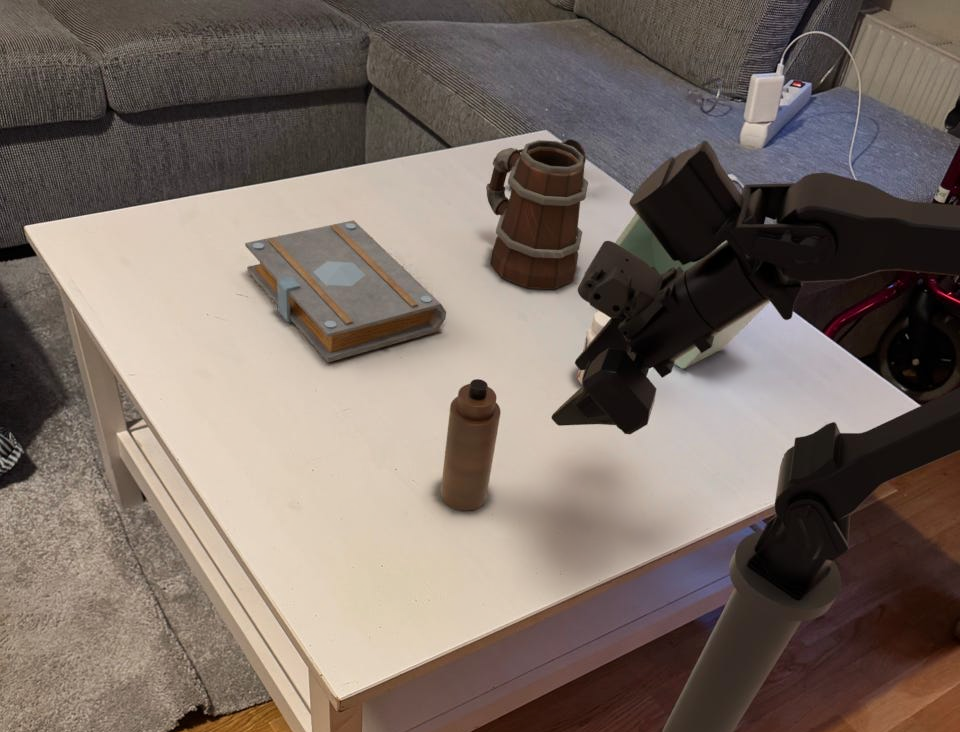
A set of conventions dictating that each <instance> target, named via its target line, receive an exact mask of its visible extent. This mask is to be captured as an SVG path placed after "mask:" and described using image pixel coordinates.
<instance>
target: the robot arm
mask: <svg viewBox="0 0 960 732" xmlns="http://www.w3.org/2000/svg"><path fill="white" fill-rule="evenodd" d="M629 206H630V207H631V208H632V209H633V210H634V212H635V214H636V213H637V214H638V216H639V217H640V218H641V220H642V221H643V222H644V223H645V225H646V226H647V227H648V229H649V230H650V231H651V233H652V234H653V235H654V237H655V238H656V239H657V240H658V242H659V243H660V244H661V246H662V247H663V248H664V250H665V251H666V252H667V253H668V255H669V256H670V257H671V259H672V260H673V261H678V260H679V261H680V262H681V264H682V265H685V264H687V263H689V262H696V261H699V260H700V261H699V262H697V263H696V264H695V265H693V266H692V267H690V268H689V269H687V270H686V271H683V269H682V268H681V267H680V266H679V267H678V268H676V269H675V268H674V267H672V268H670V269H669V270H668V271H666V272H665V273H663V274H661V275H660V274H659V272H658V271H657V270H656V269H655V268H654V267H650V266H649V265H648V264H647V263H646V262H644V261H643V260H641V259H640V258H638V257H636V256H635V255H633V254H632V253H630V252H628V251H627V250H625V249H624V248H622V247H620V246H619V245H617V244H616V243H615V242H614V241H611V240H604V241H603V242H602V244H601V246H600V247H599V248H598V251H597V252H596V254H595V256H594V257H593V259H592V260H591V263H590V264H589V266H588V267H587V269H586V270H585V272H584V274H583V277H582V279H581V281H580V283H579V286H578V287H577V293H578V295H579V297H580V298H581V299H582V300H583V301H585V302H587V303H588V304H589V305H590V306H591V307H592V308H594V310H597V311H600V312H602V313H603V314H605V315H607V316H608V317H610V318H611V319H610V320H609V321H608V322H607V324H606V325H605V326H604V327H603V328H602V330H601V331H600V332H599V333H598V334H597V336H596V337H595V338H594V339H593V340H592V341H591V343H590V344H589V345H588V346H587V347H586V348H585V350H584V351H583V350H582V352H581V353H580V354H579V355H578V357H576V359H575V361H574V365H575V366H576V367H577V368H578V370H579V369H580V370H585V373H584V375H583V378H582V384H581V387H580V388H578V390H577V391H576V392H575V393H574V394H573V395H571V396H570V397H569V398H568V399H567V400H566V401H565V402H564V403H562V405H560V406H559V407H558V408H557V409H556V410H555V411H554V412H553V414H551V420H552V422H554V423H555V425H556V426H559V427H562V426H584V425H585V426H586V425H589V426H590V425H603V426H604V425H605V426H616V427H617V428H618V429H619V430H620V431H621V432H622V433H623V434H624V435H632V434H634V433H635V432H638V431H639V430H641V429H642V428H644V427H645V426H648V423H649V421H650V417H651V414H652V412H653V407H654V405H655V402H656V393H657V387H656V386H655V385H654V384H653V383H652V381H651V380H650V379H649V378H648V373H649V370H650V369H651V368H653V370H655V371H656V373H657V374H658V375H659V376H660V377H661V378H665V377H666V376H668V375H670V374H671V373H672V372H673V369H674V365H675V364H674V362H675V360H676V359H678V358H680V357H681V356H683V355H684V354H686V353H688V352H689V351H691V350H692V349H694V348H695V347H697V348H698V349H699V351H700V352H701V353H703V352H705V351H706V350H708V349H709V348H711V347H712V344H713V340H714V336H715V335H716V334H718V333H719V332H721V331H722V330H724V329H726V328H727V327H729V326H730V325H732V324H734V323H735V322H737V321H738V320H740V319H741V318H743V317H745V316H746V315H748V314H749V313H751V312H753V311H754V310H756V309H757V308H759V307H761V306H762V305H764V304H765V303H767V302H768V301H770V302H769V303H771V304H772V306H773V307H774V309H775V310H776V311H777V312H778V315H780V317H781V318H782V319H783V320H785V321H790V320H791V319H792V318H793V314H794V308H795V303H796V301H797V298H798V296H799V294H800V293H801V291H802V290H803V285H804V283H824V282H842V281H852V280H855V279H858V278H861V277H866V276H869V275H871V274H875V273H878V272H891V271H902V272H913V273H923V274H933V275H943V276H953V277H960V205H957V204H945V203H935V202H933V203H932V202H921V201H920V202H919V201H912V200H908V199H904V198H900V197H897V196H894V195H892V194H890V193H888V192H887V191H885V190H882V189H881V188H879V187H877V186H875V185H873V184H871V183H869V182H866V181H860V180H857V179H853V178H850V177H847V176H842V175H839V174H835V173H831V172H814V173H813V172H812V173H810V174H807V175H804V176H802V177H801V179H799V180H798V181H796V182H794V183H793V182H789V183H758V184H757V183H752V184H749V183H747V184H745V185H743V187H742V190H741V192H740V190H739V189H738V188H737V186H736V185H735V183H734V182H733V180H732V179H731V178H730V176H729V175H728V173H727V172H726V170H725V169H724V167H723V166H722V165H721V163H720V160H719V157H718V155H717V153H716V151H715V150H714V149H713V147H712V145H711V144H710V142H709V141H707V140H703V141H701V142H700V143H699V144H698V145H696V146H695V147H694V148H693V149H691V148H689V149H686V150H684V151H683V152H681V153H679V154H678V155H676V156H675V157H674V156H670V157H669V158H667V160H665V161H664V162H663V163H661V164H660V165H659V166H658V167H656V169H655V170H653V172H651V173H650V174H649V175H648V177H647V178H646V179H645V180H644V181H643V182H642V183H641V184H640V185H639V186H638V188H637V189H636V190H635V192H634V193H633V194H632V195H631V198H630V200H629ZM766 218H768V219H771V220H773V221H774V223H766ZM726 240H727V242H726V243H724V244H723V245H722V246H720V247H719V248H717V247H718V246H719V245H721V244H722V243H723V242H725V241H726ZM716 248H717V249H716ZM715 249H716V250H715ZM712 251H713V252H712ZM711 252H712V253H711ZM708 254H709V255H708ZM704 257H705V258H704ZM701 259H702V260H701ZM959 452H960V387H957V388H956V389H954V390H951V391H949V392H947V393H945V394H943V395H941V396H939V397H937V398H934V399H933V400H930V401H928V402H926V403H924V404H922V405H920V406H917V407H915V408H913V409H911V410H909V411H907V412H904V413H903V414H901V415H898V416H896V417H894V418H892V419H889V420H888V421H886V422H884V423H881V424H880V425H878V426H875V427H873V428H871V429H869V430H866V431H863V432H841V431H840V429H839V427H838V424H837V423H836V422H835V421H832V422H830V423H827V424H825V425H824V426H822V427H821V428H819V429H817V430H816V431H814V432H812V433H810V434H807V435H804V436H798V437H797V436H796V437H795V438H794V444H793V446H791V447H790V448H789V449H787V450H786V451H785V453H784V454H783V457H782V459H781V462H780V465H779V472H778V479H777V486H776V492H775V499H774V511H775V515H774V516H773V517H772V518H771V519H769V520H768V521H767V522H766V524H765V526H764V528H763V532H762V534H761V536H760V538H759V540H758V542H757V544H756V546H755V548H754V551H755V552H756V554H755V555H754V556H753V557H752V558H751V559H749V561H748V562H747V566H748V567H749V568H750V569H751V570H753V571H754V572H756V573H757V574H759V575H760V576H762V577H763V578H764V579H766V580H767V581H769V582H770V583H772V584H773V585H775V586H776V587H778V588H779V589H780V590H782V591H783V592H785V593H786V594H788V595H789V596H791V597H792V598H793V599H795V600H798V601H799V600H802V599H803V598H804V597H805V596H806V595H807V594H808V593H809V592H810V591H811V590H812V589H813V588H814V587H815V586H816V585H817V584H818V583H819V582H820V581H821V580H822V579H823V578H824V577H825V576H826V575H827V574H828V573H829V572H830V570H831V568H830V566H829V565H830V563H831V562H832V561H834V562H835V560H837V559H838V558H839V557H841V556H842V555H843V554H845V553H846V552H847V551H848V550H849V540H850V539H849V537H850V523H851V515H852V514H853V513H854V512H855V511H857V509H859V507H860V506H862V505H863V503H865V502H866V501H867V499H869V497H871V496H872V495H873V494H874V493H875V491H877V490H878V488H879V487H881V486H882V485H884V484H886V483H888V482H890V481H893V480H894V479H897V478H900V477H901V476H904V475H907V474H909V473H911V472H914V471H915V470H918V469H920V468H922V467H925V466H928V465H929V464H932V463H934V462H937V461H940V460H941V459H944V458H946V457H948V456H952V455H954V454H955V453H959Z"/></svg>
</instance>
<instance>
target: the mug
mask: <svg viewBox="0 0 960 732" xmlns="http://www.w3.org/2000/svg"><path fill="white" fill-rule="evenodd" d="M522 149H523V150H522V152H520V151H519V150H520V149H518V148H513V147H508V148H504V149H501V150H500V151H499V152H498V153H497V154H496V156H495V157H494V158H493V161H492V166H493V169H492V173H491V176H490V181H489V183H487V184H486V187H485V188H486V197H487V202H488V204H489V206H490V208H491V210H492V212H493V214H494V215H496V216H499V219H498V221H497V225H496V228H495V234H496V238H495V241H494V244H493V247H492V251H491V255H490V263H489V264H490V265H491V266H492V268H493V269H494V270H495V271H496V272H497V273H498V275H500V277H501V278H502V279H504V280H507V281H508V282H512V283H514V284H517V285H519V286H522V287H524V288H527V289H546V290H548V289H549V290H555V289H559V288H560V287H562V286H565V285H567V284H569V283H571V282H574V279H575V274H576V269H577V265H578V260H579V251H580V248H581V247H580V246H581V243H582V237H583V230H581V229H580V228H579V219H580V209H581V202H583V201H585V200H586V197H587V192H588V187H589V182H588V181H589V180H587V179H586V178H585V177H584V176H585V165H586V161H585V162H584V161H583V159H584V156H583V155H582V154H581V153H579V152H578V151H577V150H576V149H575V148H574V147H572V146H569V145H566V144H563V143H561V142H560V141H558V140H547V139H546V140H544V139H537V140H535V141H531V142H528V143H525V145H524V147H523V148H522ZM508 173H509V175H508ZM507 176H508V179H507ZM506 179H507V185H508V187H509V188H510V187H511V188H512V189H511V192H510V196H509V197H507V196H506V186H505V183H506Z"/></svg>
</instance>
